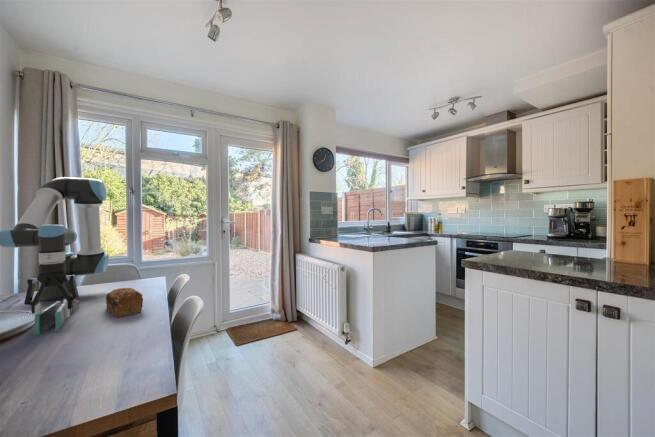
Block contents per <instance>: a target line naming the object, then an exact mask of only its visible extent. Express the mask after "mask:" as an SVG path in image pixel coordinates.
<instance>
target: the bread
mask: <svg viewBox="0 0 655 437" xmlns="http://www.w3.org/2000/svg"><path fill="white" fill-rule="evenodd" d="M105 300H106V301H105V305H106V309H107V311H108V312H110V313H111V314H112V316H114V317H116V318H121V317H127V316H130V315H131V316H133V315H135V314H136V315H137V314H140V313H141V312H142V310H143V304H144V303H143V302H144V298H143V294H142V293H141V292H140V291H138V290H137V289H134V288H132V287H122V288H116V289H113V290H111V291H110V292H108V293H107V294H106V296H105Z"/></svg>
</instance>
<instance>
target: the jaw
mask: <svg viewBox="0 0 655 437" xmlns="http://www.w3.org/2000/svg"><path fill="white" fill-rule="evenodd" d="M62 300H63V302H61V306H60V307H59V309H58V310H57V312H56V322H55V331H60V330H61V329H62V327H63V325H64V323H65V321H66V319H67V318H65V302H66V301H67V300H66V298H63V299H62Z"/></svg>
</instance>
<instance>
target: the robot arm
mask: <svg viewBox="0 0 655 437" xmlns="http://www.w3.org/2000/svg"><path fill="white" fill-rule="evenodd" d="M106 199H107V189H106V186H105V183H104V182H103V180H101V179H96V178H88V177H87V178H85V177H69V176H67V177H66V176H64V177H63V176H62V177H56V178H53V179H51V180H49V181H47V182H45V183H44V184H42V185H41V186H39V188H37V190H36V191H35V198H34V199H33V201H32V202H31V204H29V206H28V208H27V209H26V210H25V212H24V213H23V214H22V216H21V217H20V219H19V220H18V221H17V223H16V224H15V225H14V227H13V228H8V229H6V228H5V229H2V230H0V247H2V248H15V249H17V248H37V247H38V263H39V265H38V276H37V277H32V278H29V279H27V285H28V286H27V289H26V294H25V298H24V301H23V302H24V305H26V306H31V307H30V308H31V309H30V310H31V314H34V316H35V315H37V314H38V313H40V312H41V311H42V306H41V303H40V301H41V302H42V301H43V302H44V301H58V300H61V299H62V300H63V299H64V298H66V300H67V301H66V302H65V318H66V319H68V318H69V317H71V315H70V309H71V308H72V307H73V300H74V299H76V300H77V299H78V298H79V297H80V295H79V291H78V288H77V287H78V286H77V282H76V277H79V276H95V275H101V274H104V273H105V272H106V271H107V269H108V266H109V265H108V264H109V262H110V260H109V259H110V256H109V253H105V252H106V251H105V249H104V248H102V242H101V218H100V217H101V216H100V214H101V213H100V206H101V205H103V203H104V201H106ZM64 200H72V201H73V203H74V205H76V206H77V208H78V225H79V230H78V231H79V244H80V246H79V247H80V249H79V250H78V251H77V252H76V254H75V253H74V251H71V252H66V247H68V246H70V245H72V244H74V243H75V242H76V241H77V238H78V234H77V232H76V231H74V229H72V228H66V226H65V225H64V224H45V223H46V222H47V220H48V218H49V217H50V216H51V214H52V213H53V210H55V207H56V206H57V204H60V203H61V202H62V201H64ZM37 282H39V283H40V284H41V285H40V286H39V289H38V290H37V292H36V294H35V295H34V293H35V290H36V289H35V288H36V284H37Z"/></svg>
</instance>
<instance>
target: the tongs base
mask: <svg viewBox="0 0 655 437" xmlns="http://www.w3.org/2000/svg"><path fill="white" fill-rule="evenodd" d="M61 304H62V301H61V300H56V301H55V302H54V303H53V304H51V305H49V306H48V307H46V308H44V309H43V310H41V312H40V313H38V314H37V315H35V314H34V337H35V336H36V337H37V336H40V335H42V334H43V333H44V332H45V331H47V330H48V329H49V328H50V327H52V326H53V325H54V324H56V312H57V310H58V309H59V307H60V306H61ZM79 308H80V300H79V299H76V300H75V301H73V307H72V308H71V309H70V316H72V315H73V314H74V313H75V312H76V311H78V310H79Z"/></svg>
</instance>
